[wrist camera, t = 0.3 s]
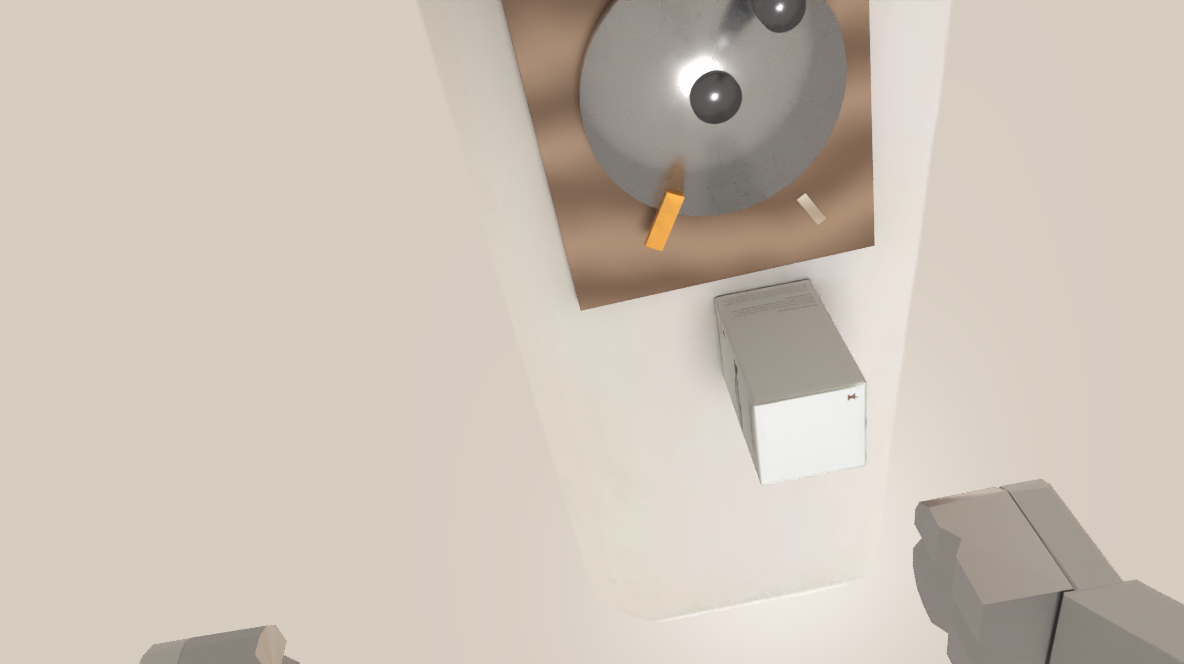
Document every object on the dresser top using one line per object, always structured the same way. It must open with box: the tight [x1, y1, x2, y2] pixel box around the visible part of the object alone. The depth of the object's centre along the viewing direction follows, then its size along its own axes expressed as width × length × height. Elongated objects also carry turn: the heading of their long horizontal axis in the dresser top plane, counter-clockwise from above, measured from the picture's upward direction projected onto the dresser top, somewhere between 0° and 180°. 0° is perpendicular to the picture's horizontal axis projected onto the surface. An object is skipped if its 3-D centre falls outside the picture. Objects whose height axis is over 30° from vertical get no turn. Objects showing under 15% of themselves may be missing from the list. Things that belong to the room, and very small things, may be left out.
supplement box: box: [714, 280, 867, 485], centre depth 61 cm, size 7×7×13 cm
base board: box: [502, 0, 874, 310], centre depth 55 cm, size 28×21×2 cm
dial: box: [579, 0, 847, 251], centre depth 52 cm, size 18×16×6 cm
